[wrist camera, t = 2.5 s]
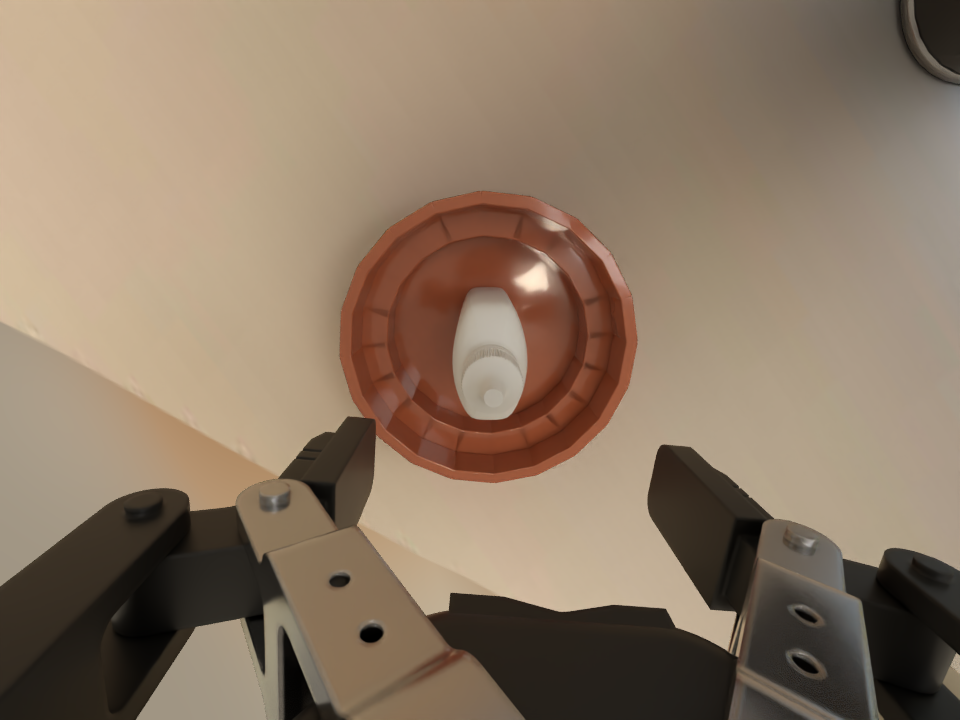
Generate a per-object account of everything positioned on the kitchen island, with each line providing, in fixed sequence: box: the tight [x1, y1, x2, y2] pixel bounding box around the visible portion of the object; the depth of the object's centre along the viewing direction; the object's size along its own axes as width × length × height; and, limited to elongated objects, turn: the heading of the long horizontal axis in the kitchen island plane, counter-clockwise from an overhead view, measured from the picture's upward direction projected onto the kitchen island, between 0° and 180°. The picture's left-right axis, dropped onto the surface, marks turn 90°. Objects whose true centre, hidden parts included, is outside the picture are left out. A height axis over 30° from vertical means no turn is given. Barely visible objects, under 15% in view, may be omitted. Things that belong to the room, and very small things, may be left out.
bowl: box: [340, 191, 638, 483], centre depth 25 cm, size 15×15×5 cm
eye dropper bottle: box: [452, 287, 527, 420], centre depth 21 cm, size 4×6×12 cm
